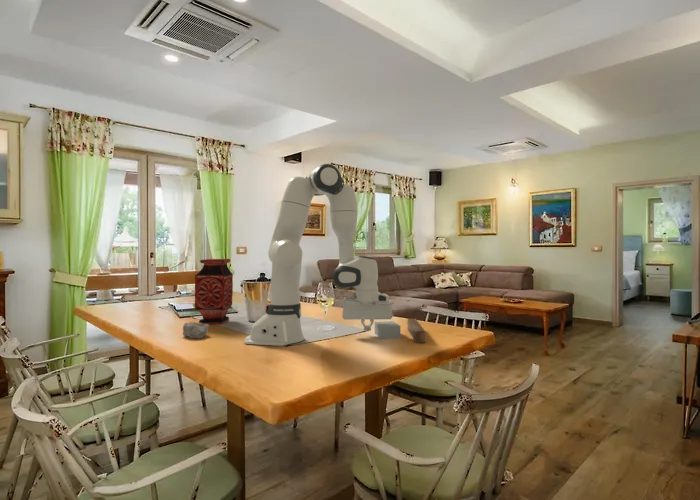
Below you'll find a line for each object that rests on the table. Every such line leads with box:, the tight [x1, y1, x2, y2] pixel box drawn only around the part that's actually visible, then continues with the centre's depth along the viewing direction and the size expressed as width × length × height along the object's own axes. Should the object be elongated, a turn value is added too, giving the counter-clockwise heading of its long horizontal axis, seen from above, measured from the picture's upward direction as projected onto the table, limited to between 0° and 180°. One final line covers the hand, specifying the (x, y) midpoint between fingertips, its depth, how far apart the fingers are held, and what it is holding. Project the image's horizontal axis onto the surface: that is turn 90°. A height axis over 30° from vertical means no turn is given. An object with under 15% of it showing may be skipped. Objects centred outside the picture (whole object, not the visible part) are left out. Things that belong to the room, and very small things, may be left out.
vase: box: [194, 258, 234, 325], centre depth 191 cm, size 14×14×30 cm
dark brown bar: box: [407, 318, 426, 344], centre depth 162 cm, size 4×24×4 cm, turn 179°
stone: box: [182, 321, 210, 339], centre depth 162 cm, size 10×8×6 cm
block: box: [374, 320, 401, 340], centre depth 162 cm, size 8×10×5 cm
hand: (367, 330), depth 163 cm, fingers closed
